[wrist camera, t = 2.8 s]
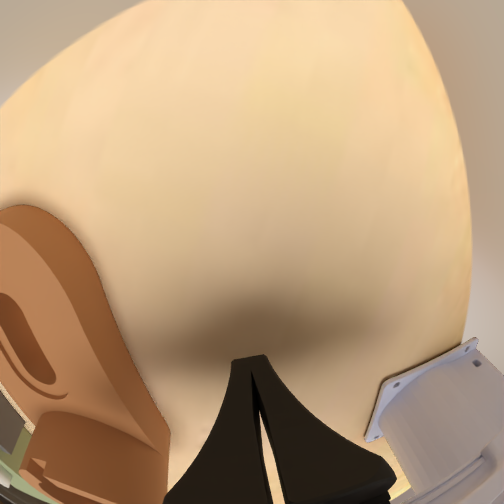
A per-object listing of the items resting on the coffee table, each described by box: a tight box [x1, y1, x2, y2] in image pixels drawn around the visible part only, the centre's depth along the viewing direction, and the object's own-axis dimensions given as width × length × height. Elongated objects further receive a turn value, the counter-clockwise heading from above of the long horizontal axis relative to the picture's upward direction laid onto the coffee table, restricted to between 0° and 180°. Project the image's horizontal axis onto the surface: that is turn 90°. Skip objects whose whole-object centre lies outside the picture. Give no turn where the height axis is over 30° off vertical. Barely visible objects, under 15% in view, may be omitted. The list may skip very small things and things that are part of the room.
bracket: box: [0, 205, 170, 504], centre depth 8 cm, size 18×8×7 cm, turn 7°
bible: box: [0, 484, 50, 504], centre depth 18 cm, size 23×27×10 cm
